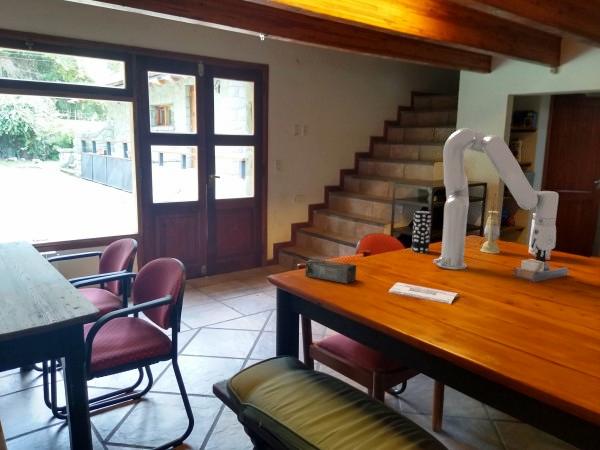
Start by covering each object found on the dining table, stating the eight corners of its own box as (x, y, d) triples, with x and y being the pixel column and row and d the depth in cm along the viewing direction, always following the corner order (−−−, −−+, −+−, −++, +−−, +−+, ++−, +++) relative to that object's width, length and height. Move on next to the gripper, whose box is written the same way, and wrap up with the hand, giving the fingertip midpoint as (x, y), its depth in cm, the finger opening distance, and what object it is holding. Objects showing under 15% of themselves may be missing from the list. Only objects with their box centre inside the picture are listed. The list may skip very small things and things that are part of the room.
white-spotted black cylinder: (427, 249, 233) (429, 211, 230) (430, 253, 225) (432, 213, 222) (410, 249, 234) (413, 210, 231) (412, 252, 226) (415, 212, 223)
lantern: (480, 248, 240) (485, 191, 235) (500, 250, 235) (506, 192, 230) (477, 252, 230) (482, 193, 225) (498, 255, 225) (504, 194, 220)
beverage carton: (314, 272, 188) (314, 256, 187) (356, 280, 179) (357, 263, 178) (304, 276, 182) (305, 260, 181) (348, 285, 172) (348, 268, 171)
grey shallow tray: (534, 281, 180) (535, 273, 180) (514, 276, 188) (514, 268, 188) (567, 275, 191) (568, 267, 190) (546, 270, 199) (547, 262, 198)
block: (533, 278, 182) (535, 263, 181) (520, 274, 187) (521, 260, 186) (542, 276, 185) (544, 262, 184) (529, 272, 190) (530, 258, 189)
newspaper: (458, 296, 163) (459, 289, 162) (450, 309, 153) (451, 302, 152) (397, 284, 174) (397, 278, 174) (386, 296, 164) (386, 290, 164)
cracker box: (551, 260, 217) (556, 217, 213) (537, 259, 218) (542, 216, 214) (540, 253, 230) (545, 212, 227) (527, 253, 231) (532, 212, 228)
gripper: (542, 224, 178) (537, 269, 181) (564, 221, 185) (559, 265, 188) (524, 221, 185) (520, 265, 188) (547, 219, 192) (542, 261, 195)
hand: (539, 265), depth 188 cm, fingers closed
